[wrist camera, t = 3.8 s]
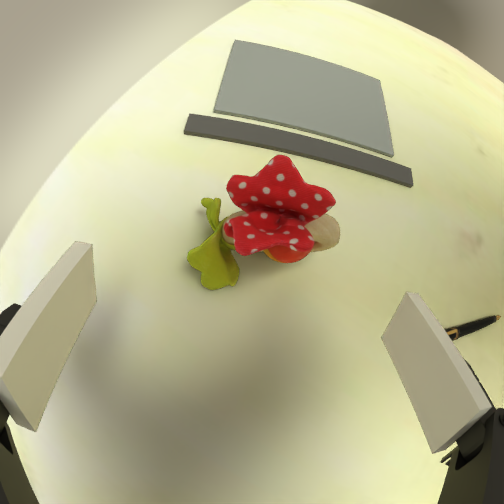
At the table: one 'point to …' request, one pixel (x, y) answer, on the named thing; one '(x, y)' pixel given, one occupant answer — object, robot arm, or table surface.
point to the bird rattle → (265, 222)
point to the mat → (302, 109)
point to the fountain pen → (470, 327)
